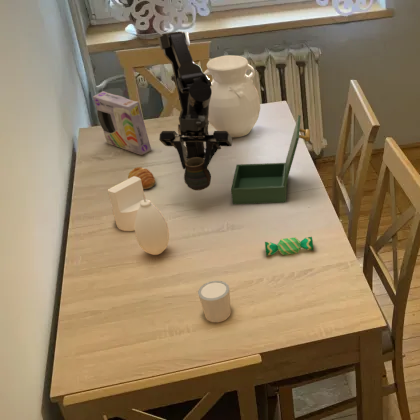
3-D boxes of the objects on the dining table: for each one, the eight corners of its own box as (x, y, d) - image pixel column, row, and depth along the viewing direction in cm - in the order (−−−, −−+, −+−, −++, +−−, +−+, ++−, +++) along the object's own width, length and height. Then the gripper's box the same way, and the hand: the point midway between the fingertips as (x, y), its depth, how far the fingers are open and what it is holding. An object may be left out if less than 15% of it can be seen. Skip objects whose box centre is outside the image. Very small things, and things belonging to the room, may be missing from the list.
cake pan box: (103, 142, 222) (90, 94, 212) (115, 137, 225) (103, 88, 216) (140, 157, 212) (128, 107, 203) (152, 151, 216) (141, 101, 206)
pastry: (162, 184, 197) (159, 173, 195) (141, 193, 193) (139, 182, 191) (146, 174, 203) (143, 163, 201) (126, 182, 199) (123, 171, 197)
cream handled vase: (257, 116, 237) (249, 49, 224) (267, 138, 222) (260, 67, 209) (205, 124, 232) (194, 56, 219) (212, 147, 218) (201, 75, 204)
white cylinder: (204, 304, 151) (199, 281, 147) (234, 302, 151) (230, 279, 147) (200, 325, 145) (196, 301, 141) (232, 323, 145) (228, 299, 142)
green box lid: (296, 137, 177) (311, 141, 177) (298, 114, 189) (312, 118, 190) (283, 185, 185) (297, 189, 185) (285, 161, 197) (298, 164, 198)
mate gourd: (217, 182, 185) (212, 150, 179) (203, 195, 179) (198, 163, 173) (194, 178, 187) (189, 147, 181) (180, 191, 181) (174, 160, 175)
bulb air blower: (160, 264, 164) (147, 203, 154) (134, 258, 166) (119, 198, 157) (178, 246, 170) (166, 187, 160) (153, 241, 172) (139, 182, 163)
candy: (266, 256, 164) (264, 240, 164) (266, 256, 168) (264, 240, 168) (313, 251, 166) (312, 235, 166) (313, 251, 169) (311, 235, 169)
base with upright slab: (136, 209, 186) (127, 172, 179) (157, 219, 181) (149, 181, 175) (109, 224, 180) (99, 186, 173) (130, 234, 175) (121, 196, 169)
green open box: (232, 204, 187) (230, 189, 184) (238, 178, 199) (236, 164, 197) (285, 202, 188) (284, 187, 185) (288, 176, 200) (286, 162, 197)
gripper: (154, 103, 173) (150, 160, 170) (224, 103, 173) (221, 160, 170) (168, 118, 184) (164, 171, 181) (233, 118, 184) (231, 171, 181)
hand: (194, 168), depth 178 cm, fingers closed on mate gourd, 5 cm apart
